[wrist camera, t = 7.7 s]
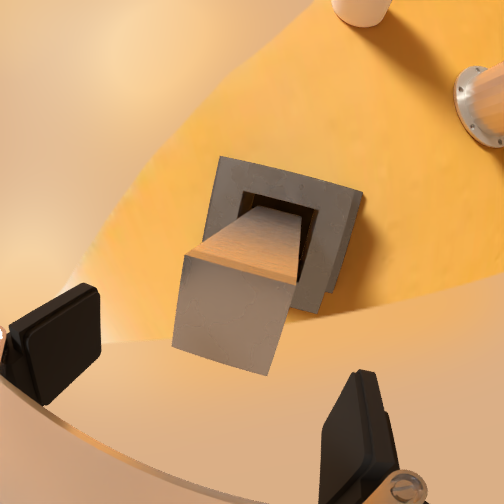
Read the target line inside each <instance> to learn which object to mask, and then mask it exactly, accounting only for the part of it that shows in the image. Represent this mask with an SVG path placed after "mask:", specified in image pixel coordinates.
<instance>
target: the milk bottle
mask: <svg viewBox="0 0 504 504" xmlns="http://www.w3.org/2000/svg"><path fill="white" fill-rule="evenodd" d="M391 1H392V0H332V7H333V10H334V12H335V13H336V14H337V15H338V17H339V18H341V19H342V20H343V21H345V22H346V23H348V24H351V25H353V26H357V27H371V26H375V25H377V24H378V23H380V22H381V21H382V19H383V18H384V16H385V14H386V12H387V10H388V8H389V6H390V4H391Z"/></svg>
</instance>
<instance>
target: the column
mask: <svg viewBox="0 0 504 504" xmlns="http://www.w3.org/2000/svg"><path fill="white" fill-rule="evenodd" d="M301 218H302V217H301V216H298V215H294V214H290V213H286V212H283V211H279V210H275V209H271V208H267V207H263V206H259V205H258V206H256V207H255V208H253V209H252V210H250V211H249V212H247V213H246V214H244V215H243V216H241V217H240V218H238V219H237V220H235V221H234V222H232V223H231V224H229V225H228V226H226V227H225V228H223V229H222V230H220V231H219V232H217V233H216V234H214V235H213V236H211V237H210V238H208V239H207V240H205V241H204V242H202V243H201V244H200V245H198V246H197V247H195V248H194V249H192V250H191V251H189V252H188V253H186V254H185V256H184V262H183V269H182V275H181V281H180V288H179V295H178V302H177V309H176V316H175V324H174V332H173V340H172V347H175V348H177V349H180V350H183V351H186V352H189V353H192V354H195V355H198V356H201V357H204V358H207V359H210V360H213V361H216V362H219V363H223V364H226V365H229V366H233V367H236V368H239V369H243V370H246V371H250V372H254V373H257V374H261V375H264V376H267V375H268V372H269V369H270V366H271V363H272V360H273V357H274V354H275V350H276V347H277V345H278V341H279V339H280V335H281V332H282V329H283V326H284V323H285V320H286V317H287V313H288V310H289V307H290V304H291V300H292V297H293V294H294V291H295V287H296V280H297V269H298V257H299V245H300V232H301Z"/></svg>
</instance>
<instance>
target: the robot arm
mask: <svg viewBox="0 0 504 504" xmlns="http://www.w3.org/2000/svg"><path fill="white" fill-rule="evenodd" d="M454 102H455V107H456V110H457V113H458V116H459V118H460V120H461V122H462V124H463V125H464V127H465V129H466V130H467V131H468V132H469V134H470V135H471V136H472V137H473V138H474V139H475V140H477V141H478V142H480V143H481V144H483V145H485V146H487V147H492V148H500V147H504V61H503V62H501V63H499V64H497V65H495V66H493V67H491V68H489V69H487V68H485V67H481V66H471V67H468V68H466V69H465V70H463V71H462V72H461V73H460V74H459V75H458V77H457V78H456V81H455V84H454ZM9 330H10V332H9V333H8V334H6V331H5V329H4V328H3V327H2V326H0V504H267V503H262V502H258V501H254V500H249V499H245V498H241V497H237V496H233V495H230V494H226V493H223V492H219V491H216V490H213V489H210V488H206V487H203V486H200V485H197V484H194V483H191V482H189V481H186V480H183V479H180V478H178V477H175V476H172V475H170V474H167V473H165V472H162V471H160V470H157V469H155V468H153V467H150V466H148V465H146V464H143V463H141V462H139V461H137V460H135V459H132V458H130V457H128V456H126V455H124V454H122V453H120V452H118V451H116V450H114V449H112V448H110V447H108V446H106V445H104V444H102V443H101V442H99V441H97V440H95V439H93V438H92V437H90V436H88V435H86V434H85V433H83V432H81V431H79V430H78V429H76V428H75V427H73V426H71V425H70V424H68V423H66V422H65V421H63V420H61V419H60V418H59V417H57V416H56V415H54V414H53V413H51V412H50V411H48V410H47V409H45V408H44V407H43V406H44V405H49V404H50V403H51V402H52V401H53V400H54V399H55V398H56V397H57V396H58V395H59V394H60V393H61V392H62V391H63V390H64V389H66V388H67V387H68V386H69V384H71V383H72V382H73V381H74V380H75V379H76V378H77V377H78V376H79V375H80V374H81V373H82V372H84V371H85V370H86V369H87V368H88V367H89V366H90V365H91V364H92V363H93V362H94V361H95V360H96V359H98V357H99V356H100V354H101V328H100V294H99V293H98V290H97V288H96V287H93V286H91V285H89V284H86V283H81V284H79V285H77V286H76V287H74V288H72V289H70V290H68V291H67V292H65V293H63V294H61V295H59V296H58V297H56V298H54V299H52V300H51V301H49V302H48V303H45V304H44V305H42V306H40V307H39V308H37V309H35V310H33V311H32V312H30V313H28V314H27V315H25V316H23V317H22V318H20V319H18V320H17V321H15V322H13V323H12V324H10V325H9ZM426 497H427V486H426V483H425V482H424V480H423V479H422V478H421V477H420V476H419V475H418V474H416V473H414V472H412V471H408V470H400V468H399V463H398V458H397V452H396V448H395V442H394V437H393V433H392V428H391V423H390V419H389V415H388V413H387V412H385V411H384V407H383V403H382V398H381V394H380V390H379V386H378V381H377V378H376V374H375V373H374V372H371V371H365V370H361V369H359V370H358V371H357V372H356V373H354V372H352V373H351V375H350V377H349V379H348V381H347V383H346V384H345V386H344V388H343V390H342V392H341V394H340V396H339V398H338V400H337V402H336V403H335V405H334V407H333V409H332V411H331V412H330V414H329V416H328V418H327V420H326V421H325V423H324V425H323V428H322V437H321V465H320V485H319V501H318V504H429V503H427V502H426V501H425V499H426Z"/></svg>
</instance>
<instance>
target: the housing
mask: <svg viewBox="0 0 504 504" xmlns="http://www.w3.org/2000/svg"><path fill="white" fill-rule="evenodd" d="M255 194H259V195H263V196H267V197H271V198H275V199H279V200H283V201H287V202H291V203H295V204H298V205H302V206H306V207H310V208H313V209H314V212H313V216H312V220H311V223H310V227H309V231H308V234H307V238H306V242H305V245H304V249H303V252H302V256H301V259H300V260H298V269H297V280H296V287H295V291H294V294H293V297H292V300H291V304H290V307H292V308H296V309H300V310H303V311H307V312H311V313H315V314H317V313H318V310H319V308H320V305H321V302H322V299H323V296H324V293H325V292H328V293H333V290H334V287H335V284H336V281H337V278H338V275H339V272H340V269H341V266H342V263H343V259H344V256H345V253H346V250H347V247H348V243H349V240H350V237H351V233H352V230H353V226H354V223H355V219H356V216H357V212H358V209H359V205H360V201H361V197H362V194H363V192H361V191H357V190H354V189H351V188H348V187H344V186H341V185H337V184H334V183H330V182H327V181H323V180H319V179H316V178H312V177H308V176H304V175H301V174H297V173H293V172H289V171H285V170H281V169H277V168H272V167H268V166H264V165H260V164H255V163H251V162H246V161H242V160H237V159H232V158H227V157H223V156H220V158H219V162H218V167H217V171H216V176H215V180H214V185H213V190H212V195H211V199H210V204H209V209H208V214H207V219H206V224H205V229H204V235H203V240H202V242H204V241H205V240H207V239H208V238H210V237H211V236H213V235H214V234H216V233H217V232H219V231H220V230H222V229H223V228H225V227H226V226H228V225H229V224H231V223H232V222H234V221H235V220H237V219H238V218H240V217H241V216H243V215H244V214H246V213H247V212H249V211H250V210H251V208H252V204H253V200H254V195H255Z"/></svg>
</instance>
